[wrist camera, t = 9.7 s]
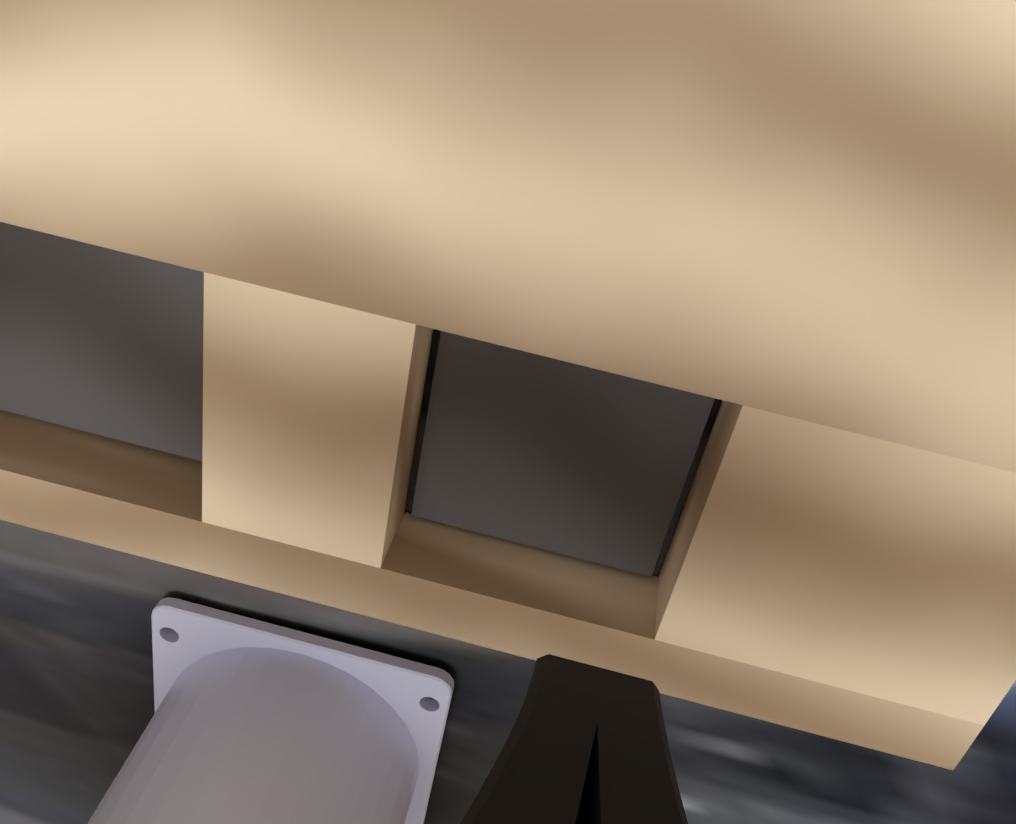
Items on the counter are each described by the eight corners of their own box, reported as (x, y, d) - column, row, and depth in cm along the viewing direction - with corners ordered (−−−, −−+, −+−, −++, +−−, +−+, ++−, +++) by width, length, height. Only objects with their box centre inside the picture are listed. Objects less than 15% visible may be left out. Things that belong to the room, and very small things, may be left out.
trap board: (934, 698, 23) (953, 770, 21) (-264, 388, 24) (-336, 431, 22) (1506, -201, 13) (1628, -203, 11) (-579, -636, 14) (-750, -695, 13)
